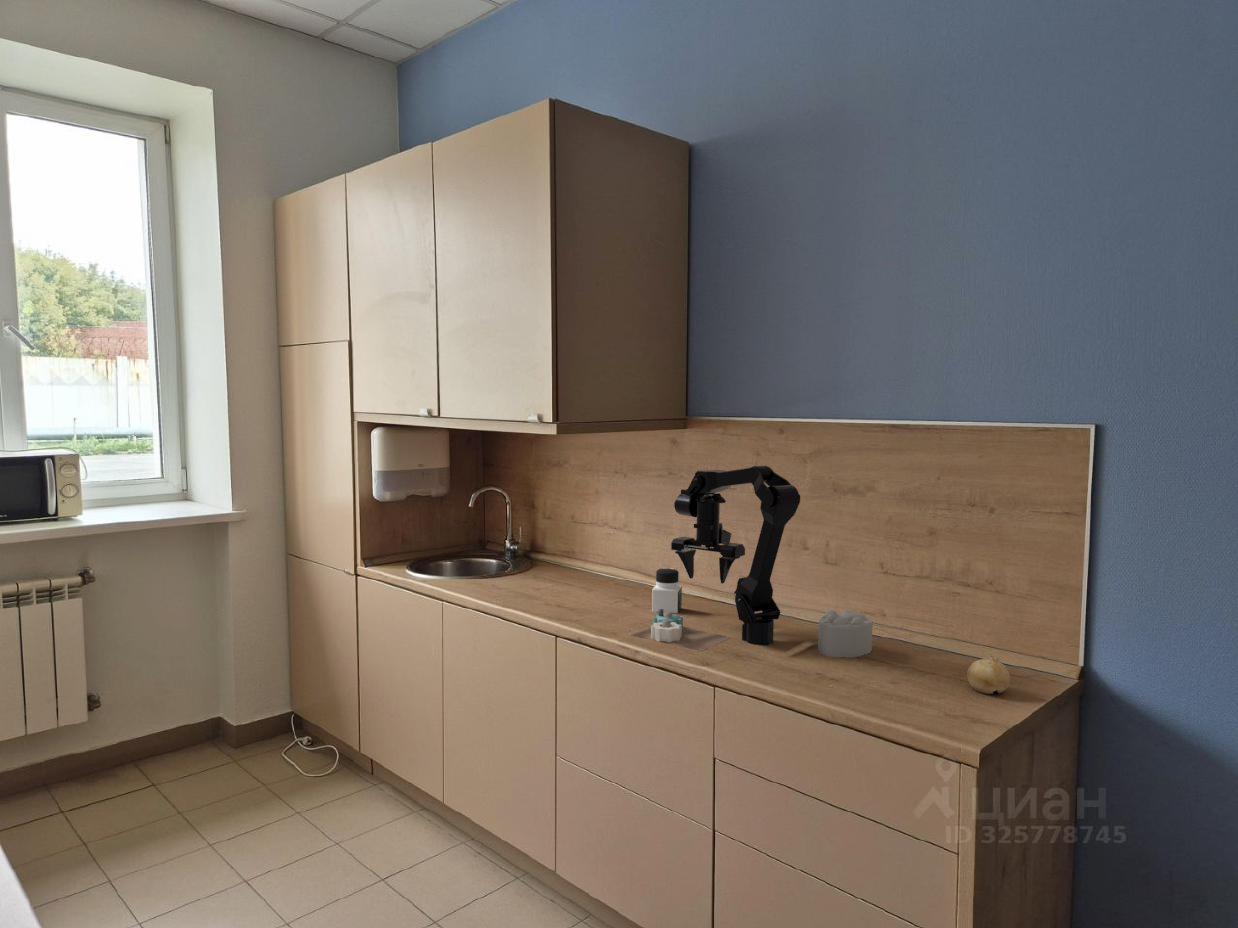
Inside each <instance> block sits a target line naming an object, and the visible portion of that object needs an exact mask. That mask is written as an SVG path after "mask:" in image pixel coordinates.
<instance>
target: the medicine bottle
mask: <svg viewBox="0 0 1238 928" xmlns="http://www.w3.org/2000/svg"><path fill="white" fill-rule="evenodd" d="M655 572H656V573H655V576H656V577H655V585H654V586H653V588H652V589H651V594H652V595H651V612H652V613H654V612H655V613H659V609H663V613H665V612H671V613H672V614H679V612H680V611H681V609H682V600H683V596H682V594H683V593H682V592H683V591H682V590H683V586H682V585H681V584H679V576H680V575H679V573H680V572H679V570H678V569H675V568H671V567H662V568H659V569H656V571H655Z"/></svg>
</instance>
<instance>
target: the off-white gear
mask: <svg viewBox="0 0 1238 928" xmlns="http://www.w3.org/2000/svg"><path fill="white" fill-rule="evenodd" d="M650 628H651V638H652V639H655V640H656V641H655V642H658V641H659V643H661V642H660V641H667V642H671V641H679V640H680V638H682V625H678V624H676V623H675V622H672V623H671V627H662V622H661V623H654V622H653V623H652V624H651V627H650Z"/></svg>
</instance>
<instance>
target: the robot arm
mask: <svg viewBox="0 0 1238 928" xmlns="http://www.w3.org/2000/svg"><path fill="white" fill-rule="evenodd" d="M750 484H752V486H753V490H754V494H755V496H756V497H757V498H758V499H759V501H760V512H761V516H762V517H763V521H762V525H761V528H760V532H759V537H758V540H757V544H756V548H755V550H754V551H755V552H754V555H753V559H752V563H751V566H750V570H749V573H748V575H747V576H746V577H739V578H738V580H737V581H736V583H737V584H736V589H735V591H734V592H733V594H734V596H735V597H734V603H735V607H736V611H737V616H738V620H739V621H741V622H742V624H741V625H742V626H741V641H744V642H746V643H747V644H750V645H753V646H754V645H756V646H768V645H771V644H773V643H774V625H775V624H774V623H775V620H779V619H780V616H781V610H780V608H779V607H778V605H777V604H776V602H775V600H774V598H773V595H774V588H773V585H772V583H771V577H772V574H773V569H774V566H775V561H776V559H777V556H778V552H779V548H780V545H781V541H782V537H783V533H784V530H785V526H786V525H787V524H788V522H789V521H791V519H792V518H793V517H794V516H795V514H796V512H797V510H798V508H799V505H800V503H801V495H800V494H799V490H798V488H796V487H795V485H792V484H791V483H790V481H789V480H788V479H786V478H784V477H783V476H781V475H779V474H778V473H776V472H775V471H774V470H773V469H772V468H771V467H770V466H768V465H753V466H751V467H745V468H739V469H731V470H726V469H725V470H723V469H708V470H707V469H706V470H703V469H702V470H697V471H695V473H694V476H693V478H692V479H691V482H690V483H689V485H688V487H687V488H684V489H681V490H680V493H679V494H678V496H676V498H675V500H674V504H673V505H674V510H675V511H676V513H677V514H678V515H681V516H687V517H691V518H696V523H693V529H696V533H695V534H696V535H695V537H690V536H689V537H687V536H680V537H675V538H673V539H672V540H671V544H670V550H671V551H675V552H674V553H675V554H677V555H678V557H679V558H680V560H681V562H682V564H683V566H684V569H685V571H686V573H687V575H688V577H689V579H693V578H694V576H695V563H694V561H695V554H696V552H697V550H701V551H707V552H714V553H719V554H720V555H721V557H720V556H719V558H718V562H719V565H718V566H719V579H720V584H723V585H724V583H726V580H727V577H728V574H729V572H730V569H731V567H732V565H733V563H734V562H735V561H736V560H737V559H740V558H741V557H743V556H745V555H746V548H745V545H744V544H743V543H739V542H731V538H732V532H729V531H727V530H725V529H724V528H723V523H722V522H720V515H721V514H720V509H721V508H720V507H721V504H726V499H725V498H724V497H723V496H722V495H721V493H720V492H723V491H725V490H727V489H728V488H729V487H733V486H740V485H750ZM756 612H757V613H756Z"/></svg>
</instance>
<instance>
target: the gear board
mask: <svg viewBox="0 0 1238 928" xmlns="http://www.w3.org/2000/svg"><path fill="white" fill-rule="evenodd" d="M663 614H664V617H665V618H672V614H673V613H671V612H663ZM662 627H671V621H668V620H664V621H662ZM630 636H631V637H636V638H640V639H645V640H650V641H654V642H659V641H656V640H655V639H652V638H651V627H649V628H647V629H644V630H641V631H639V632H636V633H632V634H630ZM730 639H732V636H727V635H722V634H717V633H711V632H709V631H707V632H706V631H704V630H703V631H702V630H697V629H692V628H688V627H687V628H686V627H683V629H682V638H680V640H679V641H671V642H667V641H660V642H659V643H662V644H667V645H672V646H678V647H683V648H686V649H691V650H695V651H701V652H702V651H704V650H707V649H709V648H711V647H713V646H716V645H719V644H721V643H723V642H725V641H727V640H730Z"/></svg>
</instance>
